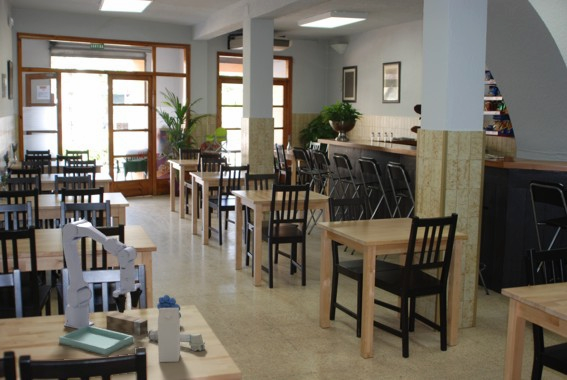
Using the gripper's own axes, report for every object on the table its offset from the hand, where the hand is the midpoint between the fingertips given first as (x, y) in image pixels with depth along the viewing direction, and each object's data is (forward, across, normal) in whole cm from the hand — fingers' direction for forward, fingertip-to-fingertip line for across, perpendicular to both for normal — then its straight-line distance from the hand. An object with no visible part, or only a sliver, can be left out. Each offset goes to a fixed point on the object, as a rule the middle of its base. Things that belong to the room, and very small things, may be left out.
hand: (128, 309), depth 256 cm
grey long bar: (+10, 0, -25) cm, 27 cm away
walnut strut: (+10, +2, +3) cm, 10 cm away
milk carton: (+10, -12, -31) cm, 35 cm away
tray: (+10, -14, +3) cm, 18 cm away
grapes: (+10, +17, -7) cm, 20 cm away
